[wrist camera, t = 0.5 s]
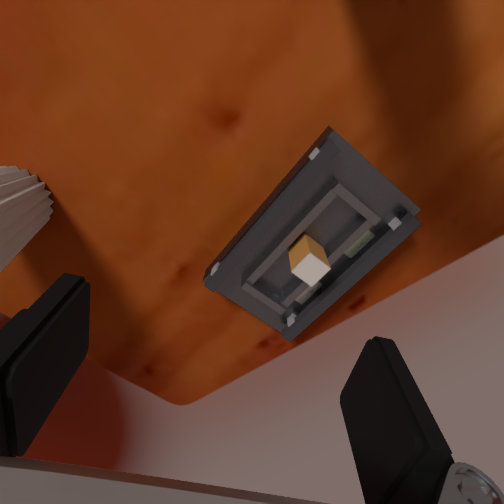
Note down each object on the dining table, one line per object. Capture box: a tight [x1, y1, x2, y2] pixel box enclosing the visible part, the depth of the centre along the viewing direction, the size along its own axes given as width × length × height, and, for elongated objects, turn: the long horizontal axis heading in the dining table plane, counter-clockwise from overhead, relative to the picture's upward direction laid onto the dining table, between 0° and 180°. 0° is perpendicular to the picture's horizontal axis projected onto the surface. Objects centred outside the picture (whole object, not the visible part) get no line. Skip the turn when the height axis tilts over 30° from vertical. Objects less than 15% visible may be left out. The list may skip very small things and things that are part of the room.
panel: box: [203, 126, 421, 333], centre depth 43 cm, size 24×14×5 cm, turn 142°
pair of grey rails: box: [205, 139, 422, 342], centre depth 41 cm, size 22×14×2 cm, turn 142°
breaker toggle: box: [288, 233, 331, 287], centre depth 40 cm, size 3×3×5 cm
